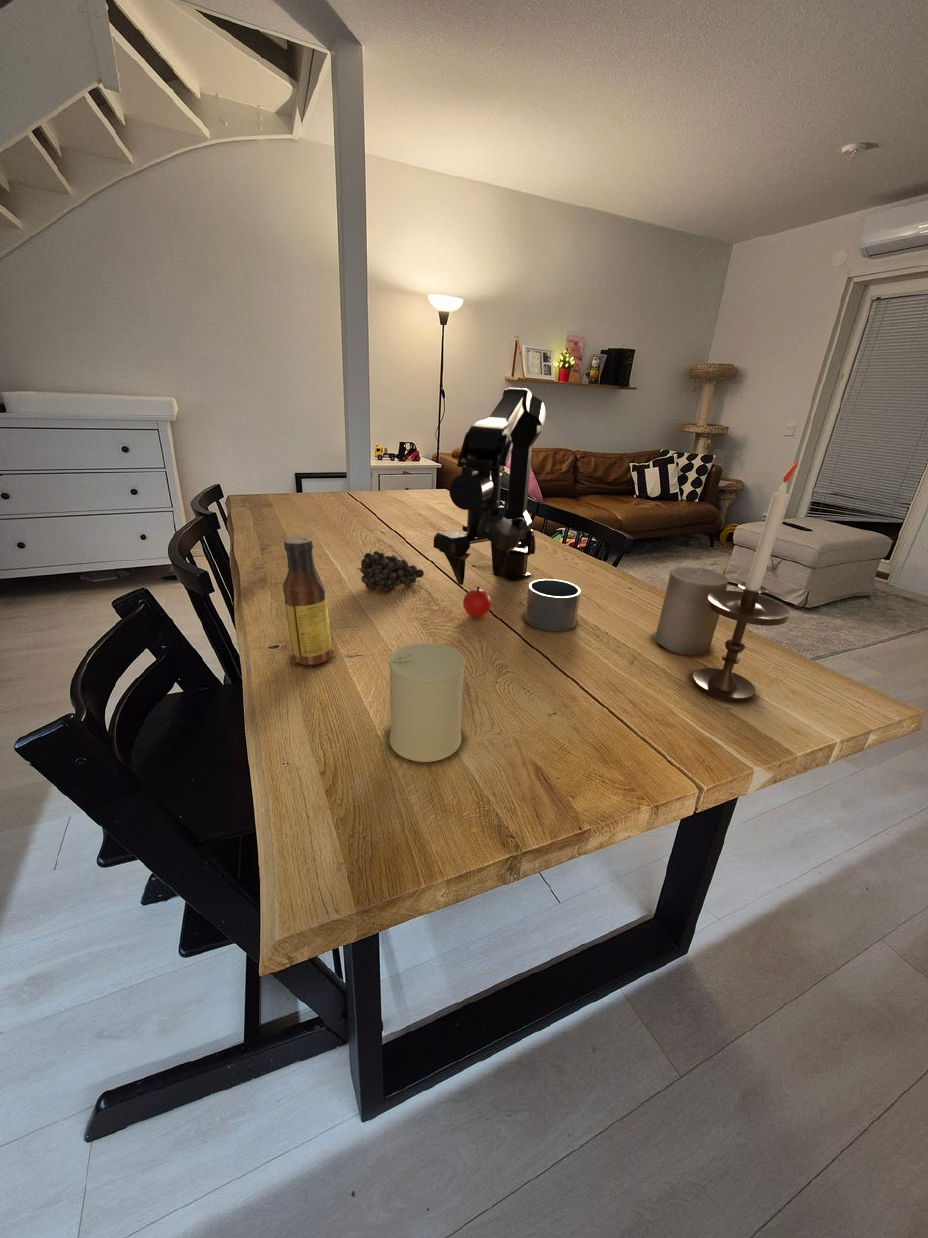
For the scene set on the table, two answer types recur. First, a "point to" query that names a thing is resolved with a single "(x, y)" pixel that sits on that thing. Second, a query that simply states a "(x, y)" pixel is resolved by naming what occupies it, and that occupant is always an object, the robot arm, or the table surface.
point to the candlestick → (746, 611)
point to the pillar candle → (689, 610)
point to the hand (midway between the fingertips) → (478, 580)
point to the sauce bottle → (306, 605)
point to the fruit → (387, 572)
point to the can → (426, 701)
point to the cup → (552, 604)
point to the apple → (477, 602)
